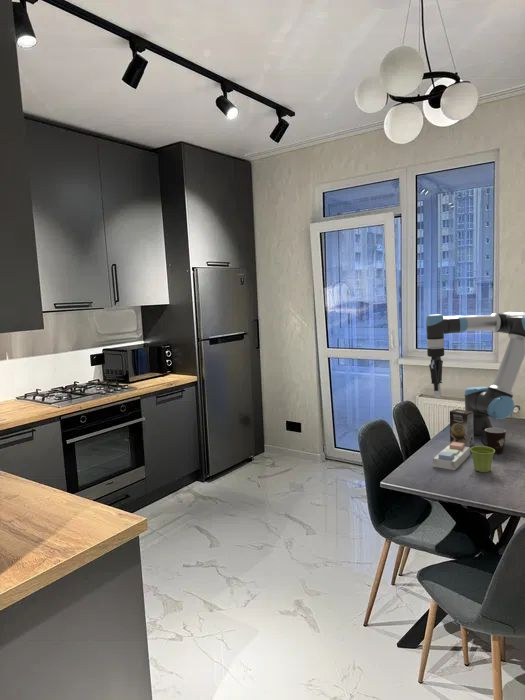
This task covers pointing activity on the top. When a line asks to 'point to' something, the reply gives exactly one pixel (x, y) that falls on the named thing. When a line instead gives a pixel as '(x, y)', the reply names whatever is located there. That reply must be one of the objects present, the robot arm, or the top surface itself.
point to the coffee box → (461, 427)
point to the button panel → (454, 462)
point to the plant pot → (482, 458)
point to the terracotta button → (457, 446)
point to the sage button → (453, 451)
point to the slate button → (446, 456)
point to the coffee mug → (495, 439)
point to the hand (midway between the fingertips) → (437, 397)
